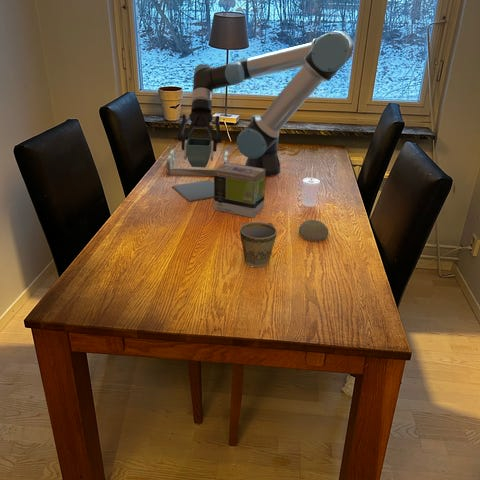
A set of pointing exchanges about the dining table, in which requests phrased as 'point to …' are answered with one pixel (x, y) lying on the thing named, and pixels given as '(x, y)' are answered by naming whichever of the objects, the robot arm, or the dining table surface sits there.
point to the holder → (188, 171)
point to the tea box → (239, 189)
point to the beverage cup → (310, 190)
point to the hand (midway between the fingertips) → (198, 158)
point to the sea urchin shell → (313, 230)
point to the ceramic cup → (257, 242)
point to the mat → (196, 190)
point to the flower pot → (198, 151)
